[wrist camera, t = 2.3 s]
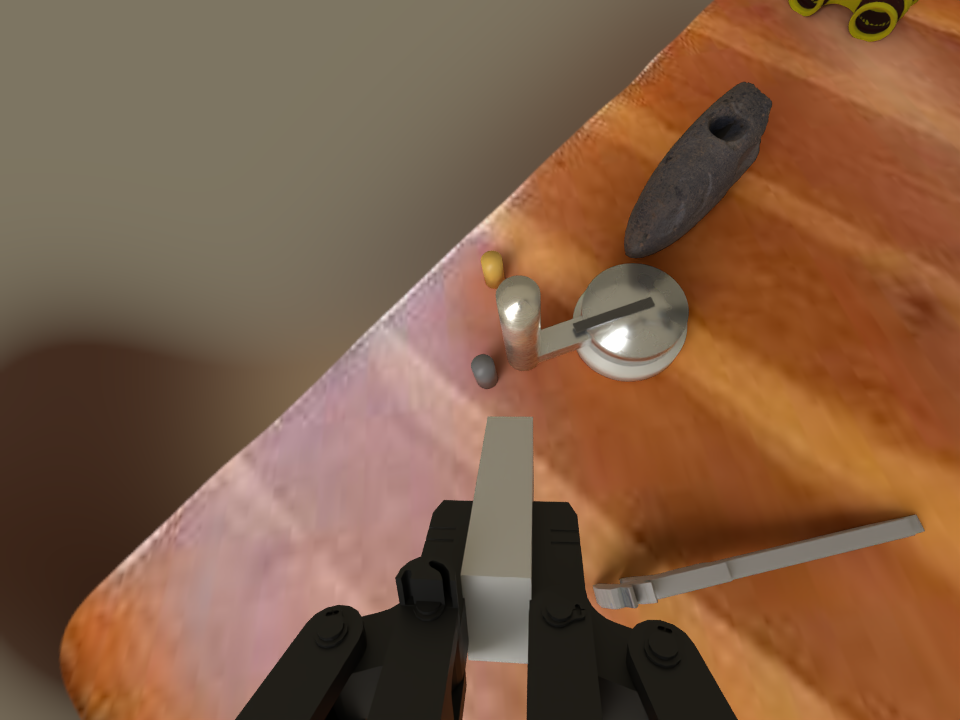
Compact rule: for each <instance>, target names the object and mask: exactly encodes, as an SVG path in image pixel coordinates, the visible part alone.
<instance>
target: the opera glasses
mask: <svg viewBox="0 0 960 720" xmlns="http://www.w3.org/2000/svg"><path fill="white" fill-rule="evenodd" d="M788 1H789V5H790V6H791V8H792V9H793V10H794V11H796V12H798V13H799V14H801V15H802V16H810V15H812V14H813V13H815V12H816V11H817V10H818V9H819V8H820V7H822V6H824V5H827V4H833V3H834V4H840V5H842V6H845V7H847V8H849V9H850V10H851V11H852V12H853V13H854V14H853V15H852V17H851V19H850V21H849V26H848V28H849V32H850V34H851V35H852V36H853V37H854V38H857V39H861V40H865V41H868V42H873V41H877V40H880V39H882V38H884V37H886V36H887V35H888V34H890V33H891V31H892V30H893V29H894V27H895V25H896V23H897V22H898V20H900V19H901V18H902V17H903V16H904V14H905V13H906V12H907V11H908V10H909V8H910V6H912V5H913V4H915V3H916V2H917V1H918V0H788Z"/></svg>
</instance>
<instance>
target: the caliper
mask: <svg viewBox="0 0 960 720" xmlns="http://www.w3.org/2000/svg"><path fill="white" fill-rule="evenodd" d="M923 531H925V530H924V528H923V526H922V525H921V523H920V521H919V519H918V517H917V515H911V516H906V517H902V518H898V519H893V520H888V521H883V522H879V523H874V524H869V525H865V526H861V527H857V528H852V529H848V530H844V531H840V532H836V533H831V534H827V535H823V536H819V537H815V538H810V539H806V540H802V541H798V542H794V543H790V544H785V545H781V546H777V547H773V548H768V549H764V550H760V551H756V552H752V553H747V554H743V555H739V556H735V557H731V558H726V559H722V560H718V561H714V562H709V563H699V564H695V565H692V566H688V567H683V568H678V569H675V570H671V571H668V572H665V573H661V574H656V575H647V576H636V577H626V578H622V579H619V580H620V583H621V584H601V583H599V584H595V585H593V589H594V593H595V596H596V600H597V603H598V604H599V605H600V606H601V607H603V608H610V609H620V608H624V607H630V608H637V607H638V604H649V603H658V601H657V599H661V598H666V597H670V596H674V595H678V594H682V593H686V592H690V591H694V590H698V589H702V588H706V587H710V586H714V585H718V584H722V583H726V582H730V581H732V580H734V579H738V578H742V577H746V576H750V575H754V574H758V573H762V572H766V571H770V570H774V569H779V568H783V567H787V566H791V565H795V564H799V563H803V562H807V561H811V560H815V559H819V558H824V557H828V556H832V555H836V554H840V553H844V552H848V551H852V550H856V549H860V548H864V547H869V546H873V545H877V544H881V543H885V542H889V541H893V540H897V539H901V538H905V537H909V536H913V535H916V533H920V532H923Z"/></svg>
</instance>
